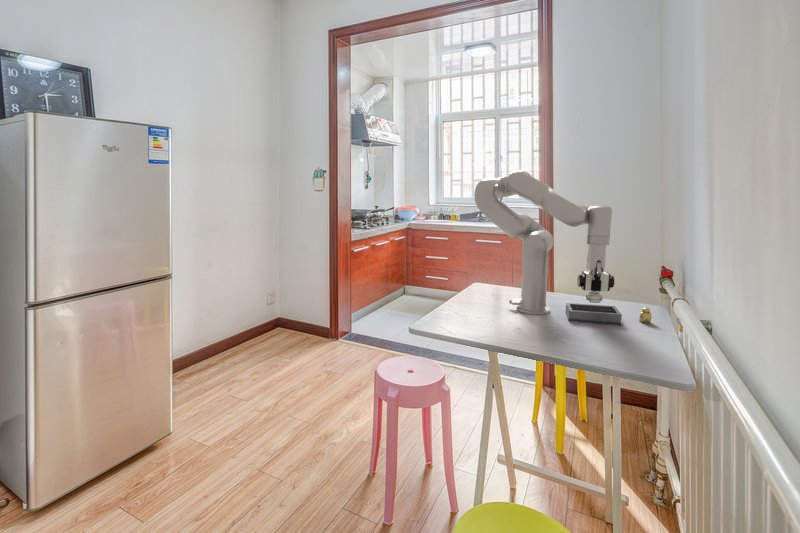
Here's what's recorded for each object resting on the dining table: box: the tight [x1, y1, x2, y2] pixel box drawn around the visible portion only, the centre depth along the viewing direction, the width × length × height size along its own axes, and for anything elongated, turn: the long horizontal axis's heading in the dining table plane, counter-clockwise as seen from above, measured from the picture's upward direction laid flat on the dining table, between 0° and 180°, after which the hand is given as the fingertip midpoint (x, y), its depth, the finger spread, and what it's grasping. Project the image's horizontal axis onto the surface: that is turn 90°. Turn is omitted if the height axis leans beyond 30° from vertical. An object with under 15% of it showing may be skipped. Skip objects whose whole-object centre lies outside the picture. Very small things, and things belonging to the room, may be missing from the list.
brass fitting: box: [638, 307, 652, 324], centre depth 152 cm, size 4×4×5 cm
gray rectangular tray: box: [565, 302, 623, 326], centre depth 157 cm, size 17×13×4 cm
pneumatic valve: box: [576, 270, 615, 304], centre depth 155 cm, size 6×12×12 cm, turn 78°
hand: (594, 288), depth 155 cm, fingers closed on pneumatic valve, 5 cm apart
